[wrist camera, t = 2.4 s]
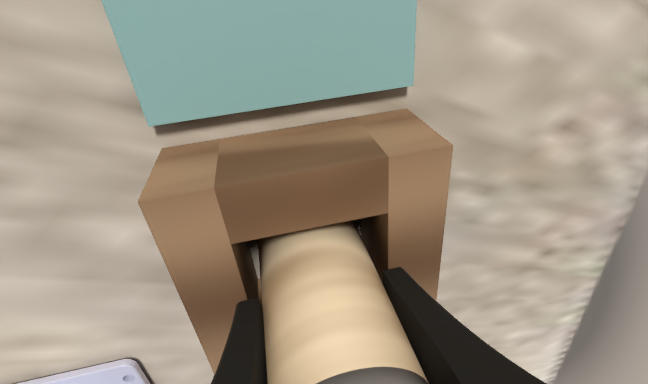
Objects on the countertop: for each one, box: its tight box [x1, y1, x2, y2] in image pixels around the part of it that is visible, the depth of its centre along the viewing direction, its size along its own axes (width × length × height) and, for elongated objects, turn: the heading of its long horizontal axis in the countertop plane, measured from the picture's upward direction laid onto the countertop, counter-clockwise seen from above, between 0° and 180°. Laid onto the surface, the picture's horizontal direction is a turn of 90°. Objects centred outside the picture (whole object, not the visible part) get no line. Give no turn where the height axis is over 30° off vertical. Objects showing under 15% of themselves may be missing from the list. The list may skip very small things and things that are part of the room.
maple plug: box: [258, 220, 429, 384], centre depth 12 cm, size 4×4×9 cm
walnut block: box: [138, 109, 453, 374], centre depth 14 cm, size 9×9×4 cm
